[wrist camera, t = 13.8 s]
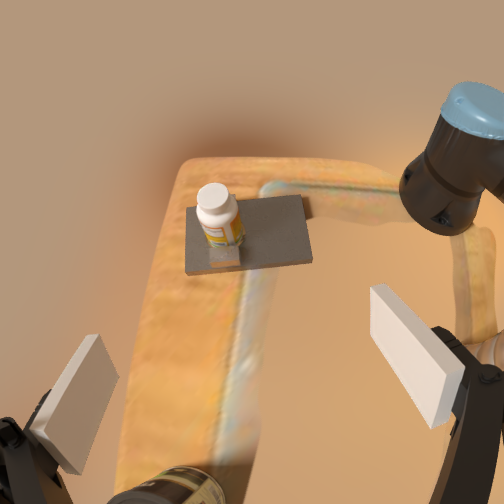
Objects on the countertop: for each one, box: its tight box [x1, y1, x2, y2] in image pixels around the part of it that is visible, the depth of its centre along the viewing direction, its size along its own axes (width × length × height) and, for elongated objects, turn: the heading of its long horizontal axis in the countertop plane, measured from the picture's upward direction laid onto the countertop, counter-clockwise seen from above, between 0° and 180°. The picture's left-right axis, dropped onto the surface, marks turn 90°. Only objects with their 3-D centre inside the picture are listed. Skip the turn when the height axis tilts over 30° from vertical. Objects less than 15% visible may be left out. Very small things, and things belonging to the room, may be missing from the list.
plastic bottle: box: [464, 330, 504, 371], centre depth 27 cm, size 6×7×20 cm
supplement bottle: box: [196, 183, 243, 248], centre depth 42 cm, size 5×5×10 cm
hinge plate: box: [185, 194, 313, 276], centre depth 47 cm, size 18×11×4 cm, turn 95°
